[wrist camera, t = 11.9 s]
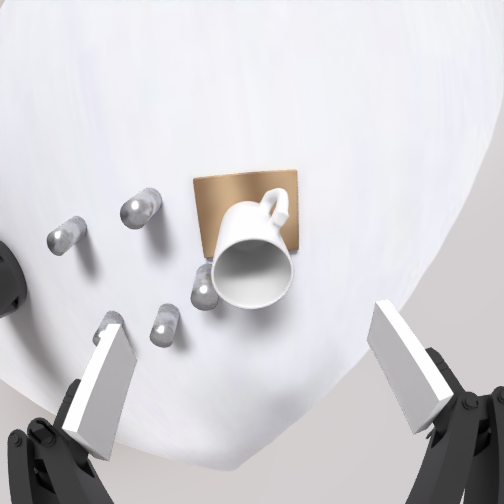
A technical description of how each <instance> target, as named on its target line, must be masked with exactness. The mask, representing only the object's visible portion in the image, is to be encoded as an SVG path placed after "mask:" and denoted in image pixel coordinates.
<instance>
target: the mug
mask: <svg viewBox="0 0 504 504" xmlns="http://www.w3.org/2000/svg"><path fill="white" fill-rule="evenodd" d="M276 201H277V204H276V207H275V210H274V212H273V214H272V216H271V214H270V211H271V209H272V207H273V205H274V204H275V203H276ZM288 206H289V200H288V194H287V192H286V191H285V190H284V189H281V188H276V189H273V190H270V191H267V192H266V193H265V195H264V197H263V198H262V200H261V202H260V203H256V202H253V201H243V202H239V203H237V204H235V205H233V206H231V207H230V208H229V209H228V210H227V211H226V213H225V214H224V216H223V219H222V222H221V226H220V231H219V235H218V240H217V244H216V249H215V253H214V258H213V264H212V270H211V278H212V283H213V286H214V288H215V290H216V292H217V293H218V295H219V296H220V297H221V298H222V299H223V300H225V301H226V302H227V303H229V304H231V305H233V306H235V307H238V308H243V309H259V308H263V307H267V306H269V305H271V304H273V303H275V302H277V301H278V300H280V299H281V298H282V297H283V296H284V295H285V294H286V293H287V291H288V290H289V288H290V286H291V284H292V281H293V277H294V266H293V262H292V259H291V257H290V255H289V252H288V250H287V248H286V245H285V243H284V241H283V239H282V237H281V235H280V232H279V230H280V228H281V227H282V226H283V225H284V224H285V223H286V221H287V220H288V218H289V214H288Z"/></svg>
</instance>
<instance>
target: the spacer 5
mask: <svg viewBox="0 0 504 504" xmlns="http://www.w3.org/2000/svg"><path fill="white" fill-rule="evenodd" d="M211 270H212V264H204V265H201V266H200V267H199V268H198V270H197V273H196V277H195V281H194V285H193V290H192V294H191V303H192V304H193V306H194V307H196V308H197V309H199V310H203V311H208V310H211V309H213V308H214V307H215V306H216V305H217V303H218V293H217V292H216V290H215V288H214V286H213V283H212V278H211Z"/></svg>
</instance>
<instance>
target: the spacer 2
mask: <svg viewBox="0 0 504 504" xmlns="http://www.w3.org/2000/svg"><path fill="white" fill-rule="evenodd" d="M108 324H121V326H122V324H123V318H122V316H121V315H120V314H119V313H117V312H115V311H109V312H107V313H106V315H105V317H104V319H103V320H102V322H101V324H100V326H99V328H98V329H97V331H96V333H95V335H94V337H93V343H94V344H95V345H96V347H97V346H98V344H99V342H100V340H101V338H102V336H103V334H104V332H105V330H106V328H107V326H108Z"/></svg>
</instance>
